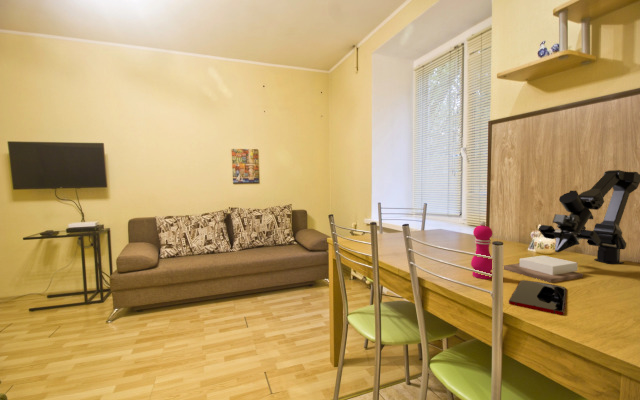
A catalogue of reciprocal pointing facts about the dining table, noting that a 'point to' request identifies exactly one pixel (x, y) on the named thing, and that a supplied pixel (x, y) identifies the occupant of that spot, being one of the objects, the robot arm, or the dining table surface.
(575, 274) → the brown flat board
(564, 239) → the robot arm
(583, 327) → the dining table surface
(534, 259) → the white flat box
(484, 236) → the pepper mill
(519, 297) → the smartphone
